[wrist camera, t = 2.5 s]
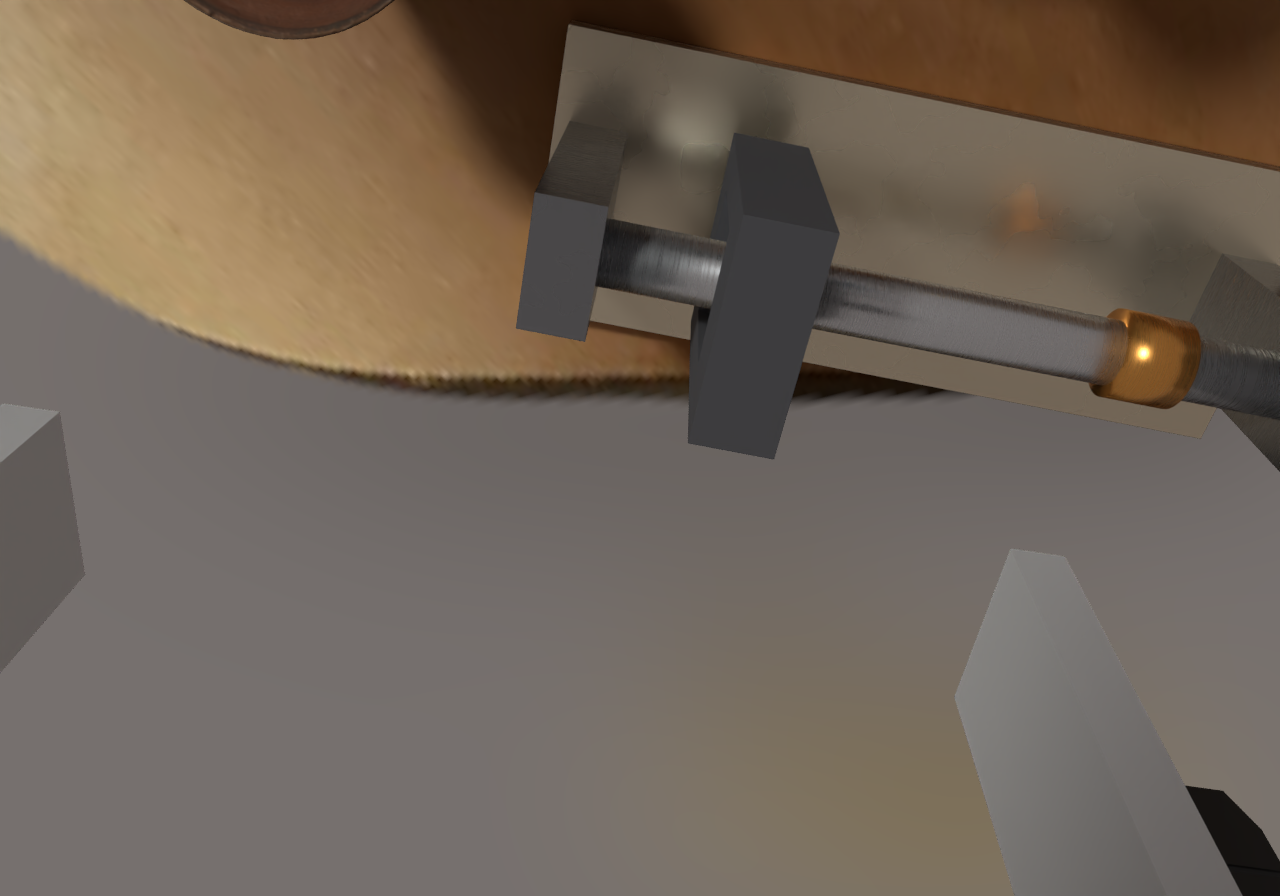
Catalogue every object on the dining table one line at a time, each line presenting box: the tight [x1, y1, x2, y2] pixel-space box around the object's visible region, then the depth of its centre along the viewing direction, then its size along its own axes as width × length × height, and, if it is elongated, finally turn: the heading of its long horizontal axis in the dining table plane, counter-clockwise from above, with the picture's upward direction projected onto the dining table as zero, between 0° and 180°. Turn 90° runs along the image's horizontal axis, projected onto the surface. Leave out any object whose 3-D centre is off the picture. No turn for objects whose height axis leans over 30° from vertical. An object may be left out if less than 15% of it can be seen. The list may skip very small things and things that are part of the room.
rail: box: [516, 20, 1280, 471], centre depth 34 cm, size 26×10×10 cm, turn 79°
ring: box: [688, 133, 840, 459], centre depth 31 cm, size 2×6×8 cm, turn 169°
